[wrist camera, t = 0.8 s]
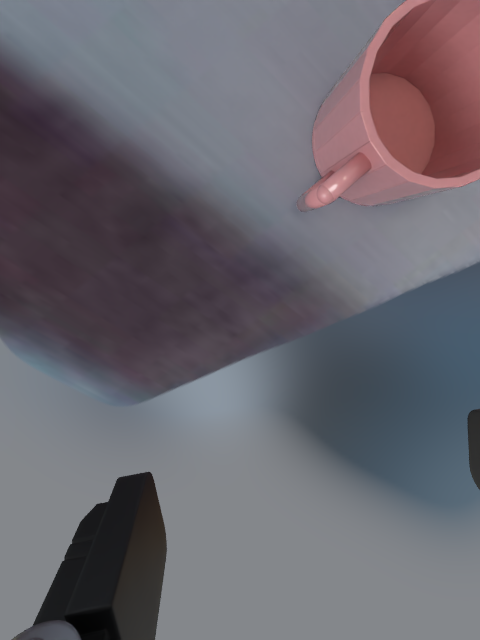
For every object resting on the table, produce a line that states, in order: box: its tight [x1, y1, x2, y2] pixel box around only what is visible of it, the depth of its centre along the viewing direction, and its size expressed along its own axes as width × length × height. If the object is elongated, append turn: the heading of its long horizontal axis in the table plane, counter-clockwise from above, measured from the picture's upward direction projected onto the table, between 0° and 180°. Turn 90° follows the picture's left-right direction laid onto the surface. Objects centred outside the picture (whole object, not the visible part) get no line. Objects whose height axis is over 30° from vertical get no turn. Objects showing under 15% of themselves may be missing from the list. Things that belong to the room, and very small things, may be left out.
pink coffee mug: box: [297, 0, 480, 212], centre depth 29 cm, size 15×11×11 cm
